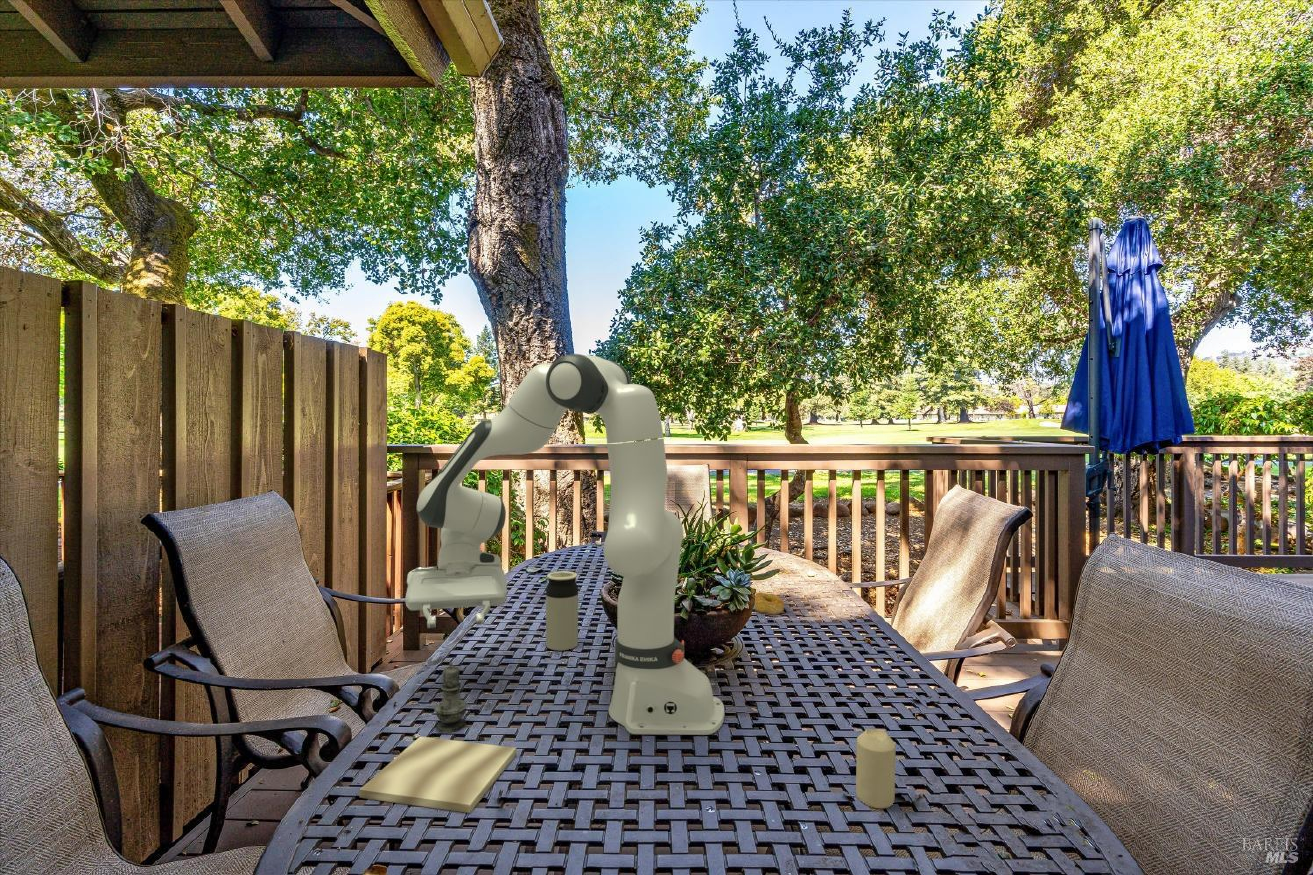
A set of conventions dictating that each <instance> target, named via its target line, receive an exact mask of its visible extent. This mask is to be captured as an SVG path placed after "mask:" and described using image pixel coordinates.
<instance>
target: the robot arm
mask: <svg viewBox="0 0 1313 875" xmlns="http://www.w3.org/2000/svg"><path fill="white" fill-rule="evenodd" d="M568 410H570V411H573V412H581V413H584V414H589V415H593V414H597V415H598V416H599V417H601V419H602V420H603V423H604V427H605V435H606V444H607V446H606V447H607V455H608V465H609V466H608V467H609V476H610V500H609V501H610V502H609V509H608V510H609V512H608V525H607V526H608V527H607V533H606V537H605V540H604V541H603V542H604V543H603V549H602V550H603V557H604V560H605V562H606V565H607V566H608V567H609V568H610V570H611V571H612V572H614V573H616V575H619V576H621V577H623V579H622V583H621V586H620V587H621V588H620V591H619V592H618V593H619V594H618V598H617V623H616V624H617V627H616V628H617V630H616V632H617V634H616V636H617V637H616V639H614V640H615V641H614V649H613V650H614V653H613V654H614V657H613V659H614V668H615V679H614V684H613V685H614V686H613V692H612V696H611V700H610V704H609V707H608V715H609V716H610V718H611V719H612V720H614V721H615V722H616V723H618V724H620V725H621V726H623V727H624V728H625V729H626V731H627V732H628V733H630V734H632V735H678V736H679V735H684V736H685V735H689V736H690V735H693V736H694V735H698V736H700V735H701V736H702V735H703V736H705V735H707V736H708V735H713V733H716V732H717V731H718V730H719V729H720V728H721V727H722V725H723V723H724V720H725V706H724V703H723V701H722V700H721V699H720V698H718V697H717V696H714V694H713V693H714V692H713V689H712V685H711V682H710V679H709V678H708V676H707V675H706V674H705V672H702V671H701V670H699V669H698V668H697V667H696V666H694V665H693V664H692V663H691V662H689V661H688V660H687V659H686V658H685V641H684V639H682V640H681V642H680V641H679V640H678V639H677V638H676V637H675V635H674V634H675V599H676V598H675V597H676V589H677V582H678V575H679V568H680V567H679V566H680V557H681V549H682V548H681V547H682V541H683V537H684V528H683V524H682V521H681V520H680V519H679V517H678V516H677V515H676V514H674V513H673V512H672V511H670V510H667V509H665V505H666V492H667V491H666V490H667V485H668V479H669V478H668V476H669V475H668V467H667V458H666V448H665V439H664V430H663V424H662V420H661V415H660V414H661V413H660V412H659V408H658V403H657V401H656V398H655V395H654V393H653V391H652V390H651V389H649V387H647V386H645V385H641V384H637V383H633V382H632V378H631V376H630V373H629V372H628V370H627V369H626V368H625V367H624V366H622V365H621V364H620V363H618V362H616V361H613V360H609V359H608V360H607V359H605V358H603V357H601V356H598V355H597V356H596V355H589V354H587V355H586V354H580V353H572V354H567V355H563V356H560V357H559V358H557V359H556V360H554V361H553V362H552V363H551V364H550V363H539V364H536V365H535V366H534V367H532V368H531V369H530V370H529V372H528V373H527V374H526V375H525V377H524V378H523V379H522V381H521V382H520V383H519V385H518V386H517V387H516V389H515V390H514V392H513V394H512V396H511V398H510V399H509V401H508V403H507V405H506V406H505V407H504V409H503V410H502V411H500V412H499V413H498V414H497V415H495V416H494V417H492V418H490V419H488V420H482V421H481V422H479V423H478V424H477V425H475V427H474V428H473V429H472V430H471V431H470V432H469V433H468V435H467V436H466V438H464V440H463V441H461V443H460V444H459V446H458V447H457V449H456V450H455V451H454V452H453V454H452V455H451V456H450V458H449V459H448V460H447V462H446V463H444V465H443V466H442V468H441V469H440V471H438V473H437V474H436V475H435V476H434V477H433V478H432V479H431V480H430V481H429V482H428V483H427V484H426V485H425V486H424V488H423V489H422V491H421V492H420V494H419V496H418V499H417V503H416V508H415V510H416V514H417V515H418V517H419V519H420V520H421V521H422V523H423V524H424V526H426V527H430V528H436V529H440V542H441V545H440V548H439V551H438V562H437V566H427V567H421V566H420V567H415V569H412V570H410V571H409V572H408V573H407V576H406V584H407V588H406V593H405V597H404V598H405V599H404V600H405V605H406V607H407V609H408V610H409V611H423V612H422V613H423V615H424V617H425V619H426V620H427V622H426V624H427V625H426V626H427V629H434V628H436V624H437V618H436V615H431V614H432V610H439V609H441V610H442V609H454V608H455V609H456V608H472V607H473V608H474V607H482V610H481V611H480V612H477V613H476V619H475V621H476V625H477V626H478V625H481V626H482V625H485V617H486V616H487V614H488V613H489V612H490V609H491V606H503V605H504V604H506V602H507V601H508V586H507V578H506V573H505V571H504V569H503V568H502V561H501V557H500V556H499V555H498V554H495V553H494V554H493V553H489V552H485V551H481V545H482V544H483V543H484V544H485V543H488V542H489V541H490V540H491V539H493V538H494V537H497V536H498V535H499V534H500V533H501V532H502V530H503V528H504V526H505V523H506V518H507V516H506V514H507V511H506V506H505V503H504V501H503V500H502V498H501V497H500V496H497V495H496V494H492V493H489V492H486V491H482V490H477V489H474V488H470V487H467V486H464V485H460V484H461V483H462V482H463V481H464V480H465V478H466V477H467V475H468V474H469V473H470V472H471V471H472V469H473V468H474V467H475V466H476V464H478V463H479V461H481V460H483V459H485V458H488V457H491V456H493V457H494V456H499V455H500V456H502V455H516V456H517V455H519V456H520V455H526V454H531V453H534V452H537V451H539V450H541V449H543V447H544V446H545V445H547V443H548V442H549V441H550V439H551V438H552V436H553V434H554V433H555V431H556V429H557V427H558V425H559V423H560V421H561V420H562V417H564V415H565V413H566V412H567V411H568Z"/></svg>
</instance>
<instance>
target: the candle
mask: <svg viewBox="0 0 1313 875" xmlns="http://www.w3.org/2000/svg"><path fill="white" fill-rule="evenodd" d="M855 765H856V769H855V770H856V771H855V773H856V775H855V776H856V777H855V780H856V781H855V793H856V794H855V795H856V797H857V799H858V798H859V799H858V800H859V801H860V802H861V801H862V802H863V803H862V802H861V803H862V804H864V803H865V804H864V805H865V806H867V807H871V808H874V809H887V808H890V806H891V805H892V806H893V805H894V804H893V803H895V800H896V799H895V798H896V797H895V795H896V794H895V792H896V791H895V790H896V789H895V788H896V743H895V742H894V740H893V739H892V738H891V736H889V735H888V733H887V732H886V731H885V730H884V731H883V730H881V729H879V728H876V729H872V728H866V729H865V730H864V731H863V732H862V733H861V734H860V735H858V736H857V737H856V764H855ZM892 806H891V807H892Z"/></svg>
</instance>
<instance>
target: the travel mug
mask: <svg viewBox="0 0 1313 875" xmlns="http://www.w3.org/2000/svg"><path fill="white" fill-rule="evenodd" d="M546 577H547V580H548V583H547V586H546V587H545V646H546V647H547V649H550V650H552V651H560V652H563V651H569V649H570V650H572V649H575V648H576V647H577V646H578V645H579V586H578V584H577V582H576V581H577V580H576V579H577V577H578V574H577V573H576V572H574V571H569V570H568V571H567V570H564V571H562V570H559V571H552V572H549V573H548V574H547V575H546Z"/></svg>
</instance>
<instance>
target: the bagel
mask: <svg viewBox="0 0 1313 875" xmlns="http://www.w3.org/2000/svg"><path fill="white" fill-rule="evenodd" d="M755 594H756V597H755V610H754V611H755V612H756V613H758V614H762V615H763V614H765V615H769V616H771V615H772V616H776V615H780V614H782V613H783V612H784V609H785V606H786V603H785V602H784V601H783V599H782V598H781V597H780V596H779V595H777V594H773V593H766V592H756V593H755Z"/></svg>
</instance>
